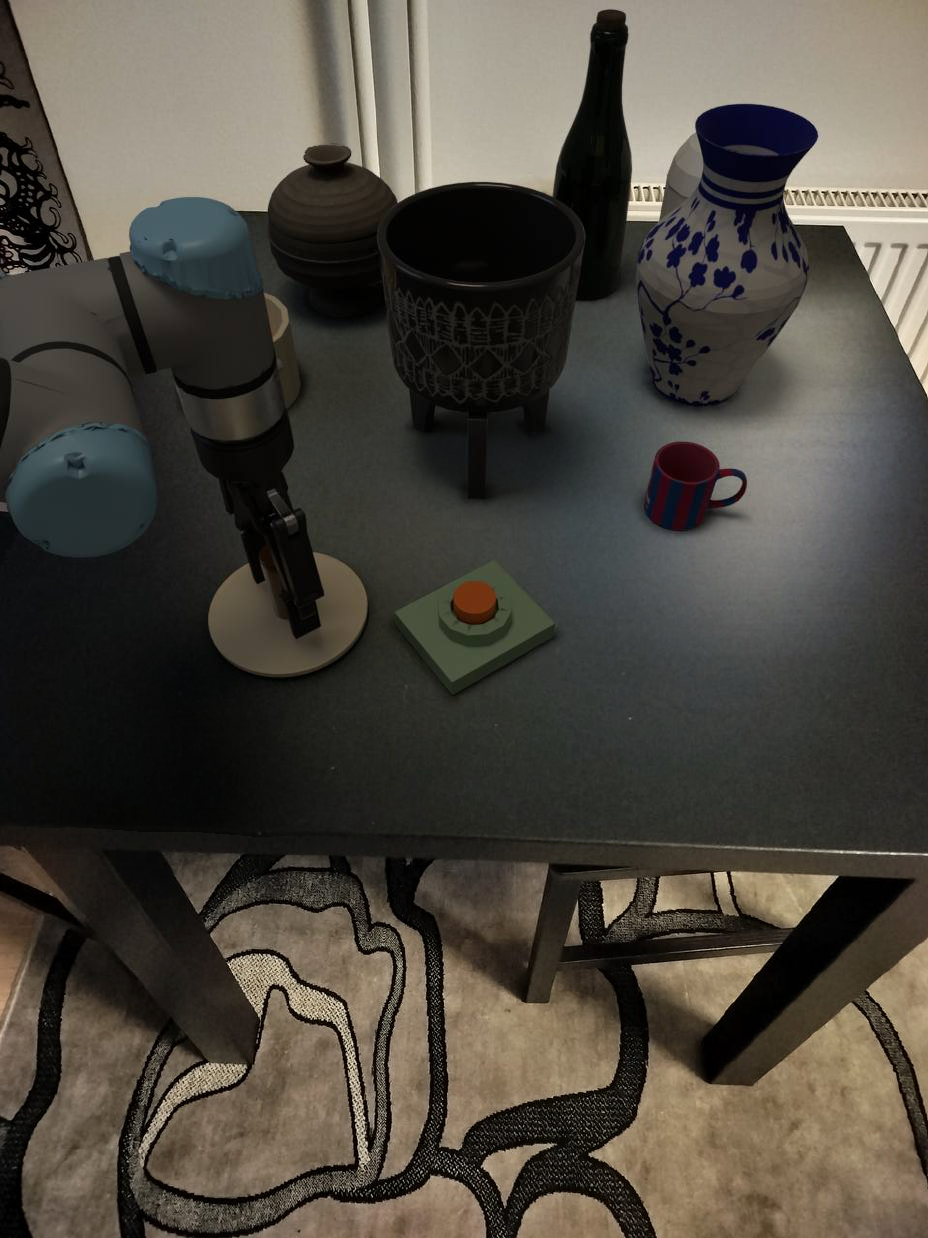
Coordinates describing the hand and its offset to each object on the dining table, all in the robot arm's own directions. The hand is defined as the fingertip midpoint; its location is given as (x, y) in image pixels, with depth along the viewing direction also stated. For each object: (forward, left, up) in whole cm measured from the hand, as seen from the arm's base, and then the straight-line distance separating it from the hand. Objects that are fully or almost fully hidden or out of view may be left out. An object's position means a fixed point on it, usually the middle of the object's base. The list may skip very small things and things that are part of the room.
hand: (286, 602), depth 84 cm
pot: (+33, +47, -2) cm, 57 cm away
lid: (0, 0, -2) cm, 2 cm away
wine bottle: (+63, +31, -2) cm, 70 cm away
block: (+14, -12, -2) cm, 19 cm away
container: (+78, +23, -2) cm, 81 cm away
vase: (+60, +5, -2) cm, 60 cm away
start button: (+14, -12, +1) cm, 18 cm away
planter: (+30, +10, -2) cm, 32 cm away
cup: (+43, -12, -2) cm, 45 cm away
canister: (+12, +36, -2) cm, 38 cm away
